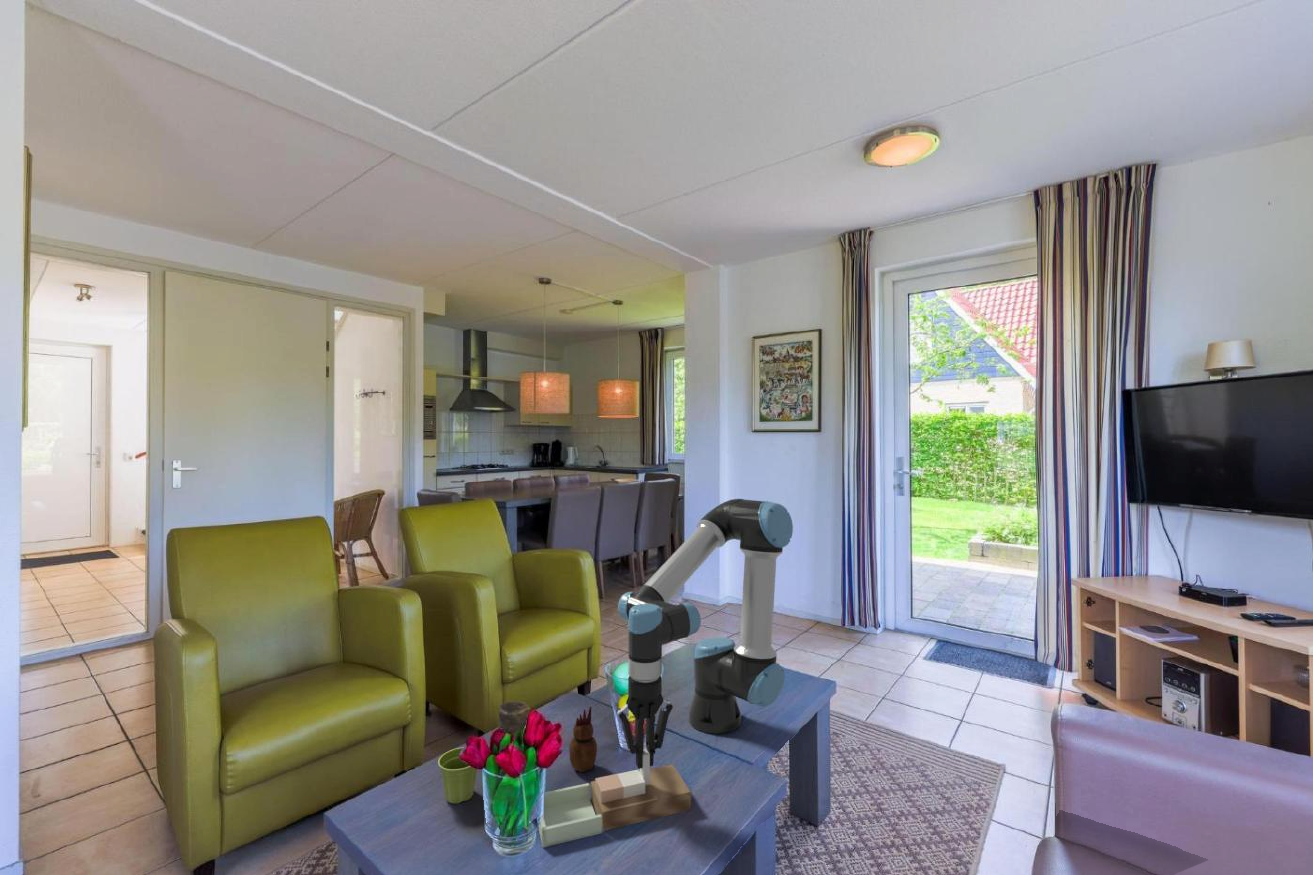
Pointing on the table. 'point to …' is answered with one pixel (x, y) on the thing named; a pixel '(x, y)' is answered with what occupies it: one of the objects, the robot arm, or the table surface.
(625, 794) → the tile
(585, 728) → the wooden figurine
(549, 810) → the tray
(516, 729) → the candle
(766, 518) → the robot arm
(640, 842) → the table surface
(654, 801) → the brown box sleeve
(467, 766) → the plant pot
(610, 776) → the tile
